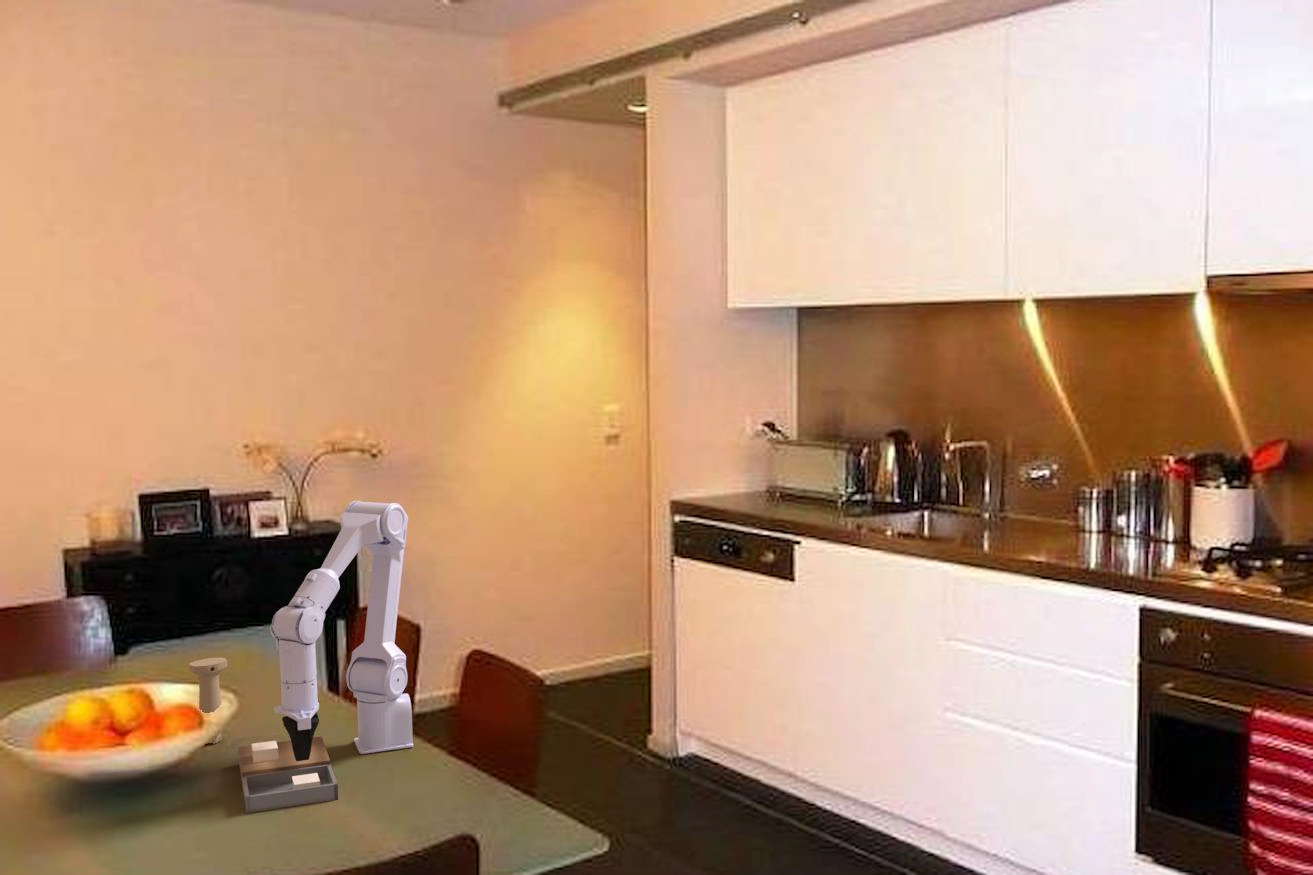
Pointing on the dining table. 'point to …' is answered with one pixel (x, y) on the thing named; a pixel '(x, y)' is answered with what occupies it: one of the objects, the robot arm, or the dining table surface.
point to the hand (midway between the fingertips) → (302, 759)
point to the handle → (209, 684)
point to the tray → (287, 789)
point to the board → (282, 759)
